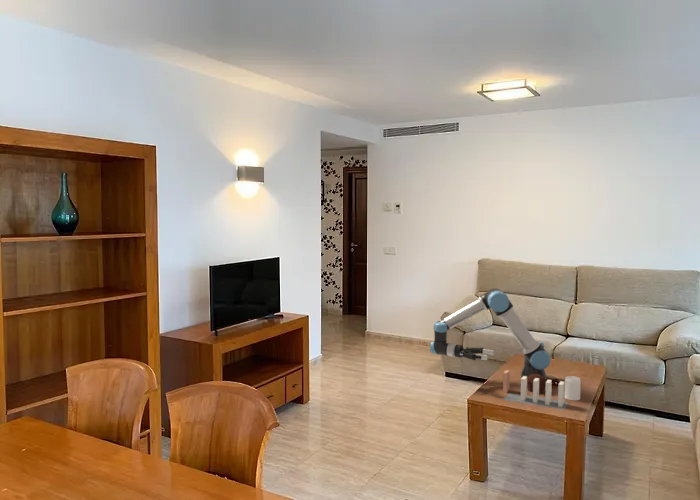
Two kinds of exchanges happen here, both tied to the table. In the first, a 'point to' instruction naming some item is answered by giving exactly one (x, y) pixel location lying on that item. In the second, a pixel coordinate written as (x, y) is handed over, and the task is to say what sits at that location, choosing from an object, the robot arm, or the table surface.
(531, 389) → the muffin
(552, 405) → the mat
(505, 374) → the domino
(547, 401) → the domino
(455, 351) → the robot arm
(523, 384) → the domino
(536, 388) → the domino
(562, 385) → the domino
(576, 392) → the beverage can
